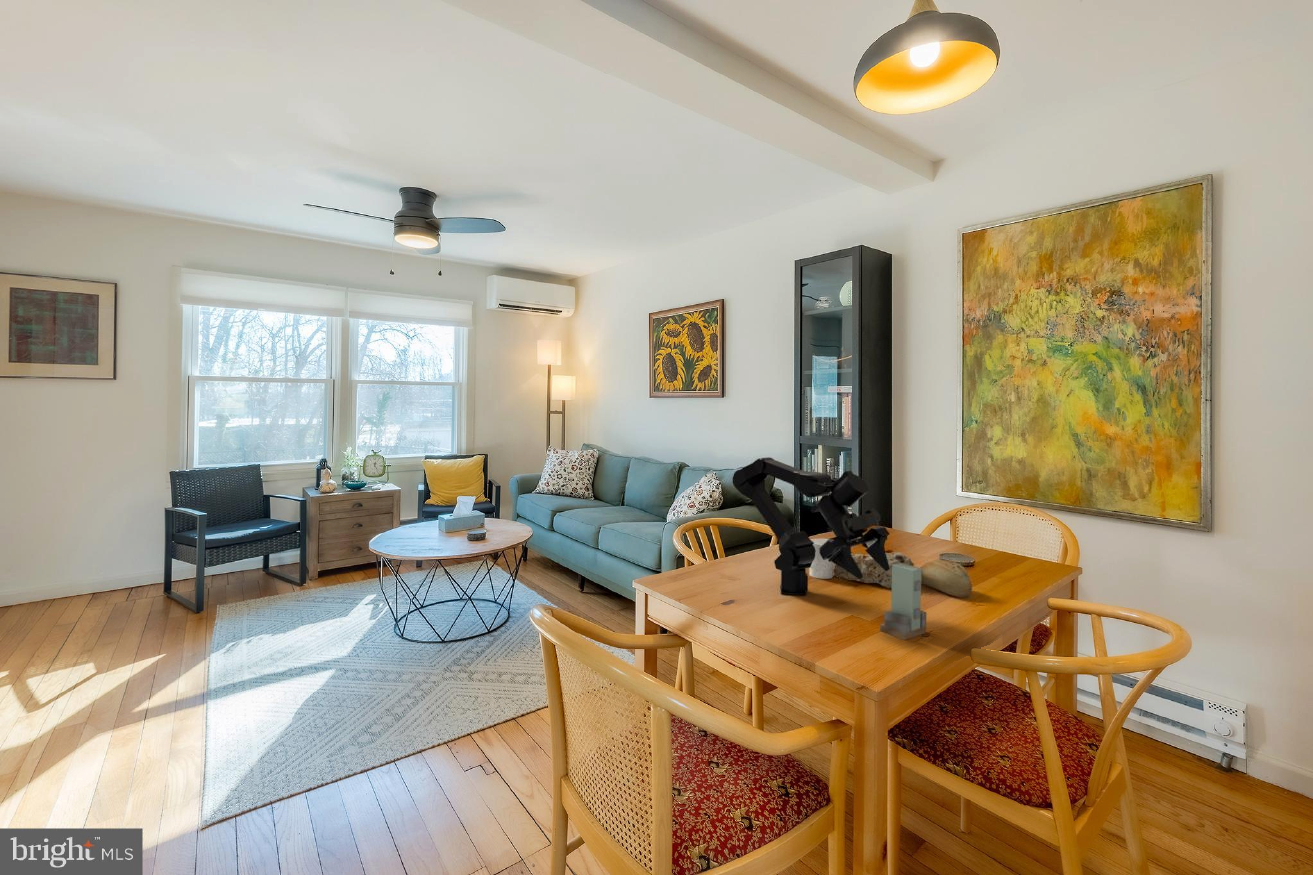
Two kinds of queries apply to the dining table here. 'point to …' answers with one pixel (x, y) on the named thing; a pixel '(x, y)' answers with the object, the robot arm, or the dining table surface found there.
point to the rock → (874, 568)
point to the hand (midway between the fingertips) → (875, 574)
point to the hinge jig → (902, 625)
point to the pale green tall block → (907, 593)
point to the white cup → (821, 563)
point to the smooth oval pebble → (946, 577)
